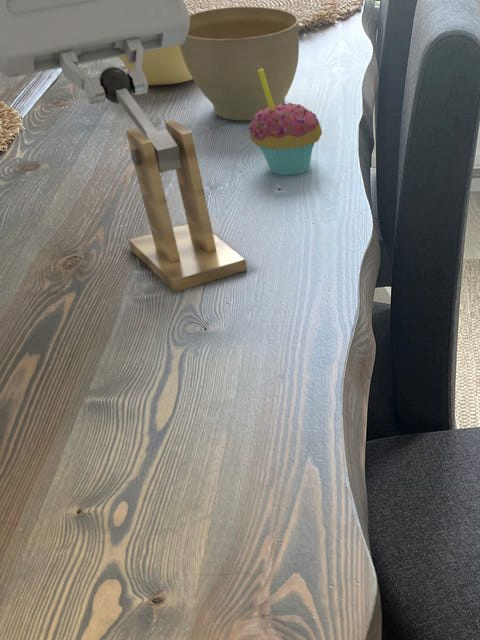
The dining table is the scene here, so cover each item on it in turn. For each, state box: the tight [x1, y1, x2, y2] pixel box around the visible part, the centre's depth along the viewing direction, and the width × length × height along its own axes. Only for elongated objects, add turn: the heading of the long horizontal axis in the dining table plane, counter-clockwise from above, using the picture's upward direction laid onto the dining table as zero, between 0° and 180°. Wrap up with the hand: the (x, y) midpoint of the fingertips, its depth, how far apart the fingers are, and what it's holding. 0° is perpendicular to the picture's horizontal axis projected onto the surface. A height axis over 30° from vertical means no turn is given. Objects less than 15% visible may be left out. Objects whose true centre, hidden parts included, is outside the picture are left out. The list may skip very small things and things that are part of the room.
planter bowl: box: [180, 6, 300, 122], centre depth 135 cm, size 16×16×11 cm
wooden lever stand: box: [125, 119, 248, 293], centre depth 101 cm, size 12×8×13 cm, turn 35°
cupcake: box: [248, 62, 323, 176], centre depth 120 cm, size 9×8×12 cm
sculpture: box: [118, 45, 193, 86], centre depth 146 cm, size 12×12×11 cm
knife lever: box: [98, 66, 181, 174], centre depth 100 cm, size 14×3×3 cm, turn 34°
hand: (120, 95), depth 102 cm, fingers closed on knife lever, 3 cm apart
